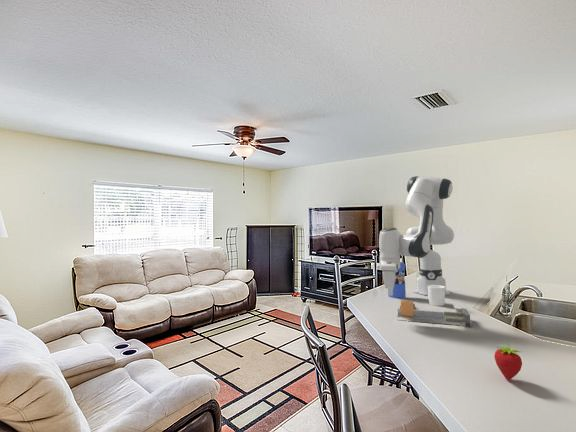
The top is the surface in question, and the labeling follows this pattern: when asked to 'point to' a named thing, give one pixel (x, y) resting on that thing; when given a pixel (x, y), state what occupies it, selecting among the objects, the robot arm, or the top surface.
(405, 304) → the orange notched block
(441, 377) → the top surface
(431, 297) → the white cup
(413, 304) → the pad
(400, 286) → the water bottle
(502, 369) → the strawberry
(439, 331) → the top surface
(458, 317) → the rail
